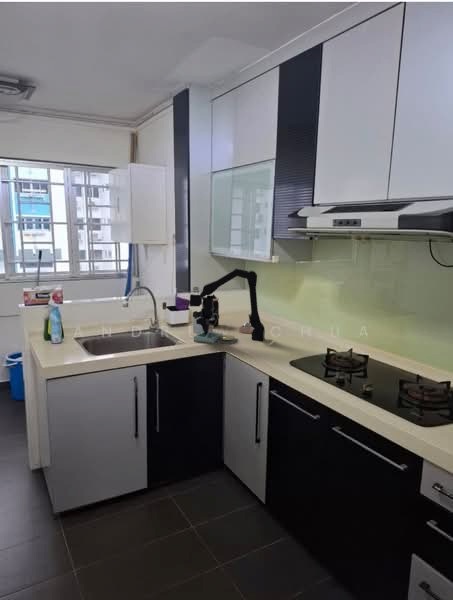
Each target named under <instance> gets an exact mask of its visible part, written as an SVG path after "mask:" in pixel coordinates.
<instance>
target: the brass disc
mask: <svg viewBox="0 0 453 600" xmlns="http://www.w3.org/2000/svg"><path fill="white" fill-rule="evenodd" d="M235 338H236V337H235V335H231V334H222V336H220V339H221V340H234V339H235Z"/></svg>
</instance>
